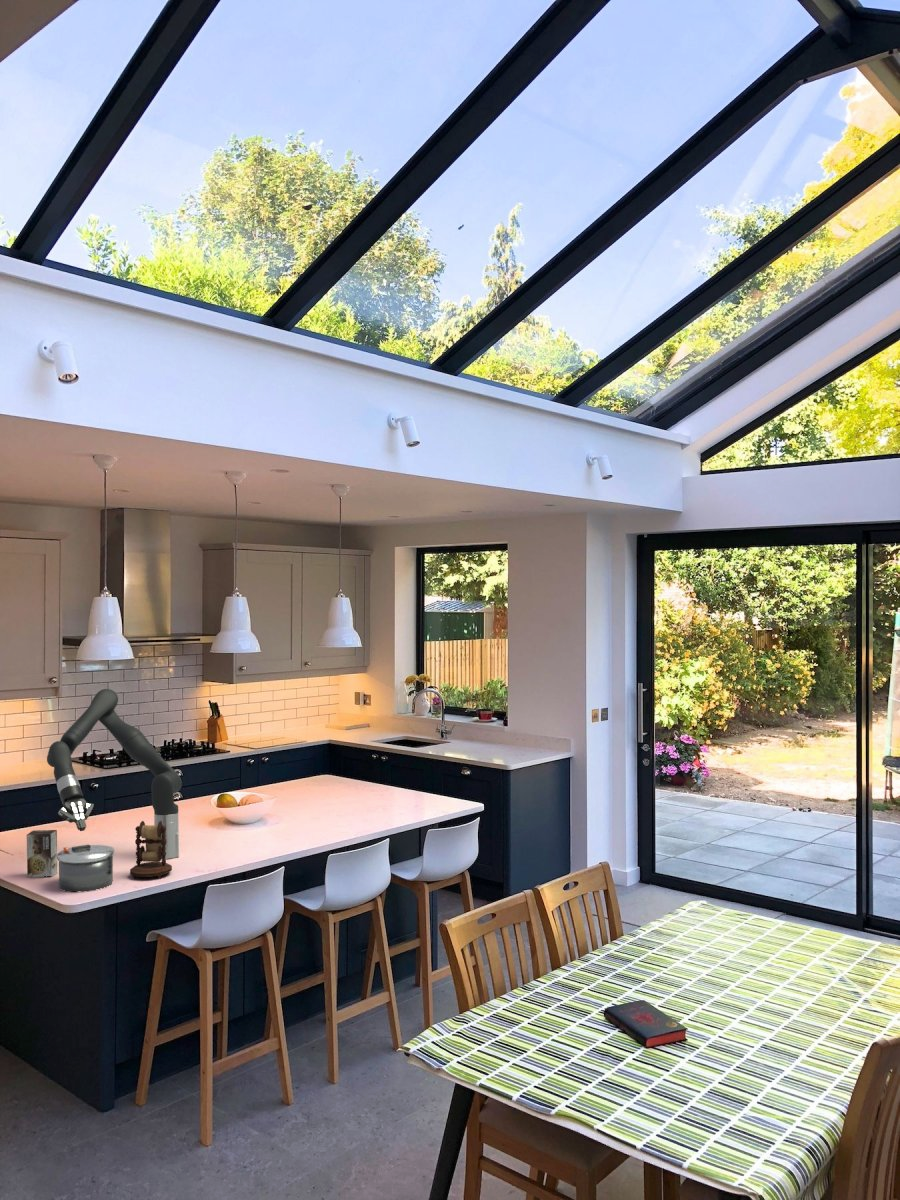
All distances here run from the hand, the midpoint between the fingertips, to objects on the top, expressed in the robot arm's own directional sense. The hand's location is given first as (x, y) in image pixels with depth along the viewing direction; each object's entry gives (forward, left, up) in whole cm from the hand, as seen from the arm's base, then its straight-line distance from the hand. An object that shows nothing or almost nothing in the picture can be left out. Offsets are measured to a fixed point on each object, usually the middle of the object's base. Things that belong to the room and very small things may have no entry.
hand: (82, 829), depth 345 cm
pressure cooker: (-1, +3, -19) cm, 19 cm away
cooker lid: (-1, +3, -9) cm, 9 cm away
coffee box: (+16, -15, -19) cm, 29 cm away
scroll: (-23, -3, -19) cm, 30 cm away
